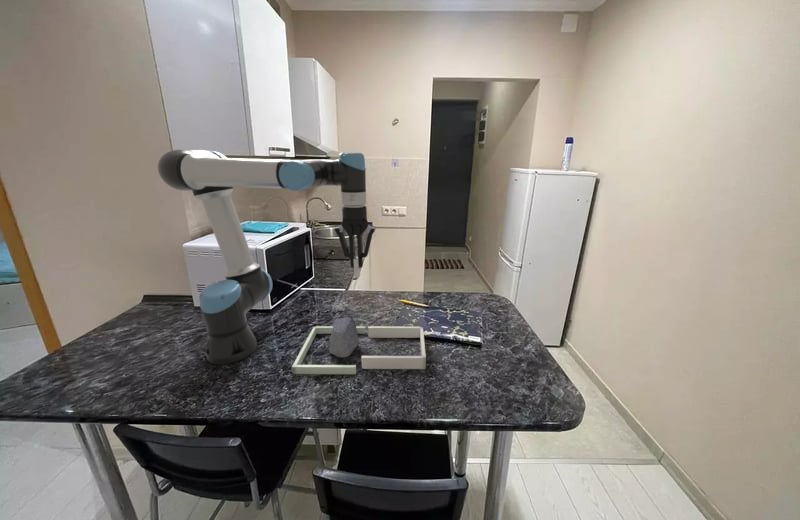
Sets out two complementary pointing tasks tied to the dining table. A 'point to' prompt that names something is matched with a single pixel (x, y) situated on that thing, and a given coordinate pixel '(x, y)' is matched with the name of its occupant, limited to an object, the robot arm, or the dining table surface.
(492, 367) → the dining table surface
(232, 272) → the robot arm
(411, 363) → the frame
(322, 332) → the pale green u-shaped frame
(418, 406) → the dining table surface
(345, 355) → the stone
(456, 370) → the dining table surface
